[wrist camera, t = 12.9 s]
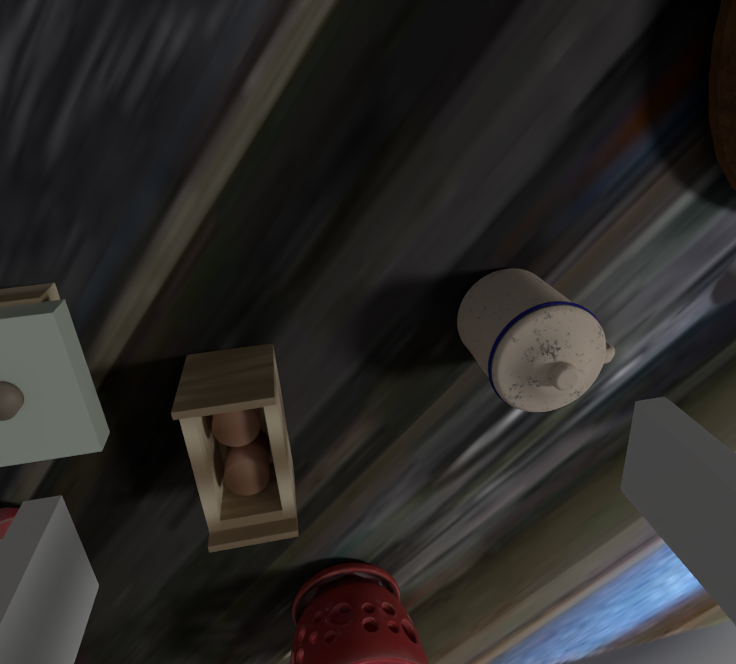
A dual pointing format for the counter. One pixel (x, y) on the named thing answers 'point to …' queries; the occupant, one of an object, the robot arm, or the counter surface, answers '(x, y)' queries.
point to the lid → (45, 387)
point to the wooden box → (238, 445)
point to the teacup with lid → (531, 340)
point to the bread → (724, 90)
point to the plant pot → (353, 619)
